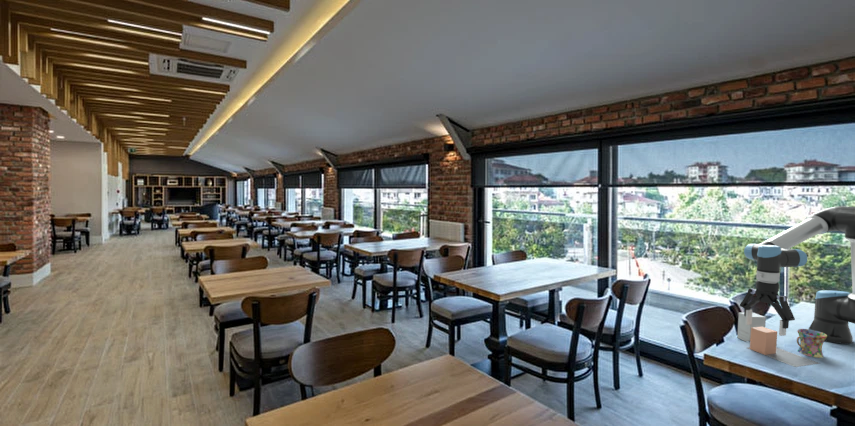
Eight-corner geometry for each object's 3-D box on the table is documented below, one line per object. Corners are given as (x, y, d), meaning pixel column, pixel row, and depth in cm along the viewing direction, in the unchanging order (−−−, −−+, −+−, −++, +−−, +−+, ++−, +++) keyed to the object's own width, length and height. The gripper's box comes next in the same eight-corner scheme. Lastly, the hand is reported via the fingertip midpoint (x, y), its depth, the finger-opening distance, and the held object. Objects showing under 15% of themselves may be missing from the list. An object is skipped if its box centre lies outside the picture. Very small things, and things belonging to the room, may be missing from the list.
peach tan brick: (760, 347, 174) (761, 326, 174) (775, 353, 168) (777, 331, 168) (749, 348, 173) (751, 327, 172) (764, 354, 167) (766, 332, 166)
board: (769, 348, 178) (769, 344, 178) (820, 366, 159) (820, 363, 159) (745, 351, 174) (745, 347, 174) (794, 370, 156) (795, 366, 156)
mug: (806, 351, 174) (808, 328, 173) (831, 360, 165) (833, 336, 164) (784, 353, 172) (786, 329, 171) (808, 362, 163) (810, 337, 162)
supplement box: (764, 343, 183) (766, 317, 182) (748, 343, 183) (750, 317, 182) (752, 337, 190) (753, 312, 189) (736, 337, 190) (738, 311, 189)
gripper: (731, 275, 180) (729, 320, 181) (794, 289, 155) (791, 341, 157) (744, 274, 181) (742, 319, 183) (808, 287, 157) (805, 339, 159)
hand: (764, 329), depth 170 cm, fingers open, 13 cm apart
